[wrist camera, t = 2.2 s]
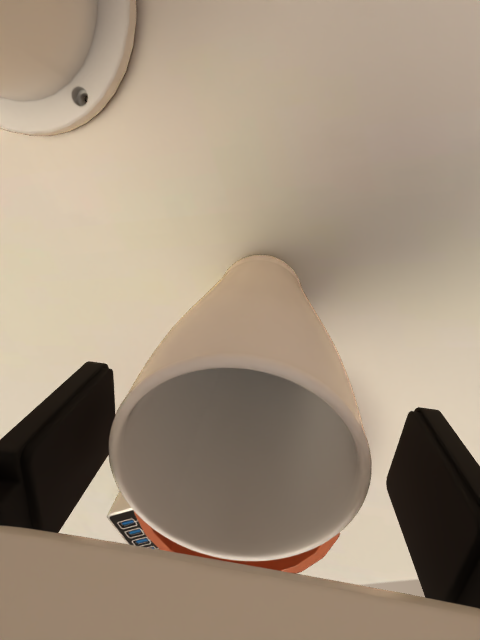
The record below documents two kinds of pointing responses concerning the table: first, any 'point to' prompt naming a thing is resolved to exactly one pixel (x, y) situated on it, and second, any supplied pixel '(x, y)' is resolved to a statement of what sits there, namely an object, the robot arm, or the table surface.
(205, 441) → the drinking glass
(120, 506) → the multiport hub
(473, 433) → the table surface
